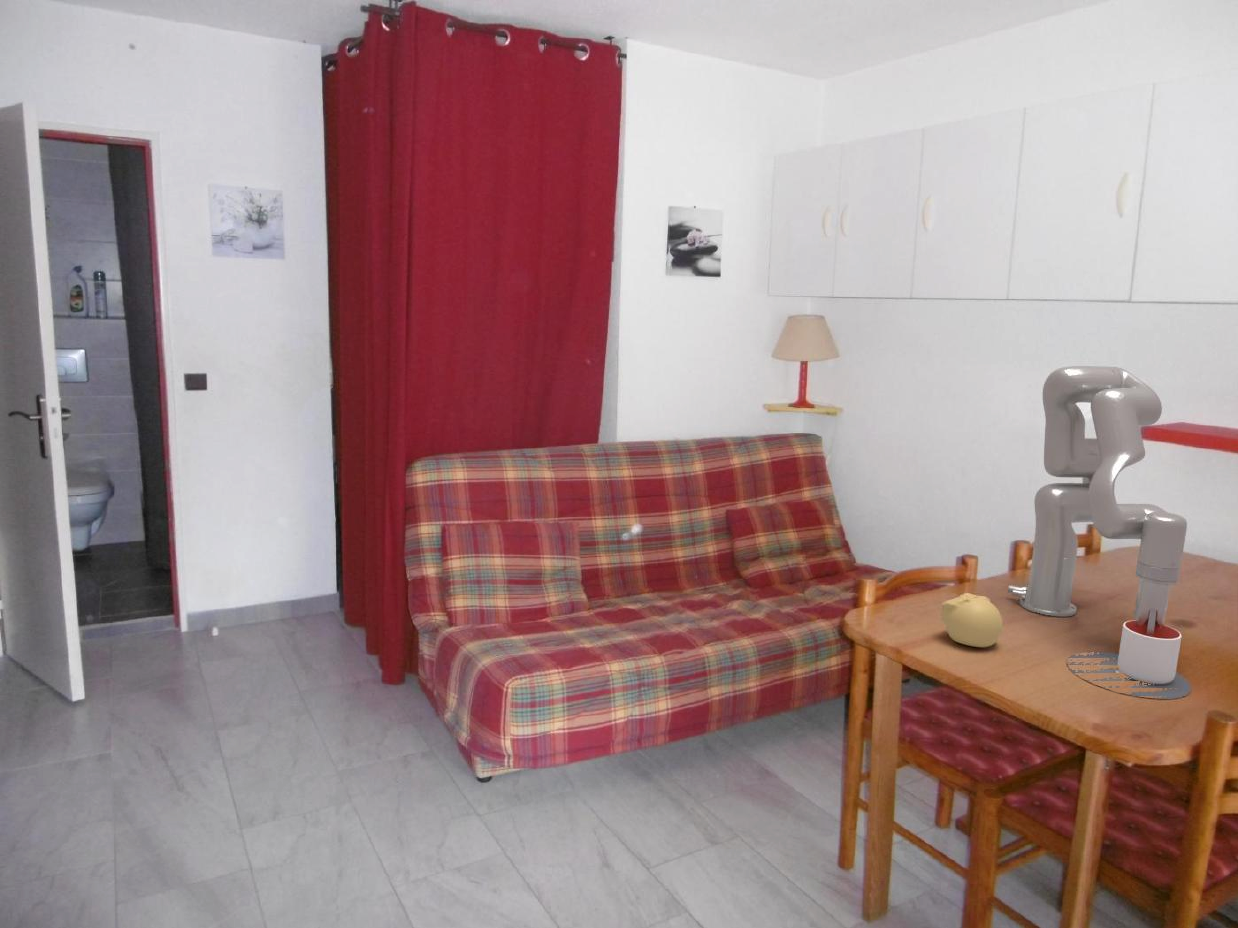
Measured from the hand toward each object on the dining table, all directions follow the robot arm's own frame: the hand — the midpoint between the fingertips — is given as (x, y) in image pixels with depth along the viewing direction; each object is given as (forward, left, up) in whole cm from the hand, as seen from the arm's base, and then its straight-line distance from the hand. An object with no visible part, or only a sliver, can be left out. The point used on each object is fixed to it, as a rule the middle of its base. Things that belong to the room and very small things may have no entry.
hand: (1144, 654), depth 178 cm
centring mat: (-3, -9, -2) cm, 10 cm away
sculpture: (-33, -9, -2) cm, 34 cm away
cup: (0, -8, -2) cm, 8 cm away
